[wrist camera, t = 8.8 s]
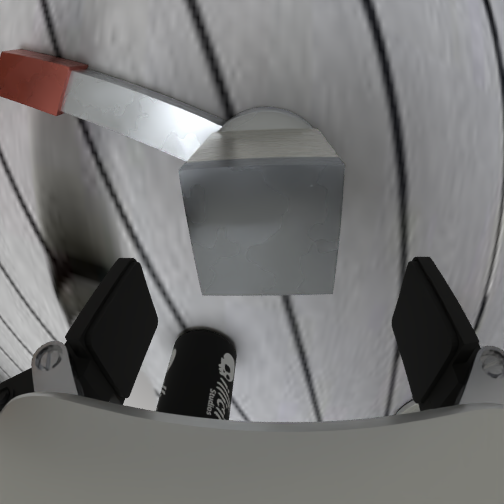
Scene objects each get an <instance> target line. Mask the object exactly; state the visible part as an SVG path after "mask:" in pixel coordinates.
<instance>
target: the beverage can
mask: <svg viewBox="0 0 504 504" xmlns="http://www.w3.org/2000/svg"><path fill="white" fill-rule="evenodd" d="M235 364H236V351H235V349H234V347H233V346H232V345H231V344H230V343H229V341H228V340H227V339H225V338H224V337H223V336H221V335H219V334H217V333H214V332H211V331H206V330H196V331H191V332H188V333H186V334H184V335H182V336H180V337H179V338H178V339H177V340H176V342H175V345H174V348H173V352H172V355H171V359H170V362H169V365H168V369H167V372H166V376H165V379H164V383H163V387H162V390H161V394H160V397H159V401H158V405H157V408H156V412H162V413H169V414H176V415H183V416H191V417H200V418H209V419H220V420H229V414H230V406H231V398H232V389H233V381H234V373H235Z"/></svg>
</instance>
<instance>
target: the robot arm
mask: <svg viewBox="0 0 504 504" xmlns="http://www.w3.org/2000/svg"><path fill="white" fill-rule="evenodd" d="M157 325H158V317H157V314H156V311H155V308H154V305H153V302H152V299H151V296H150V293H149V290H148V287H147V284H146V280H145V277H144V274H143V271H142V267H141V264H140V263H139V262H137V261H136V260H135V259H134V258H119V259H118V260H117V261H116V262H115V264H114V265H113V266H112V268H111V269H110V271H109V272H108V273H107V275H106V276H105V278H104V279H103V280H102V282H101V283H100V285H99V286H98V287H97V289H96V290H95V292H94V293H93V295H92V296H91V298H90V299H89V300H88V302H87V303H86V305H85V306H84V308H83V309H82V311H81V312H80V314H79V315H78V317H77V319H76V320H75V322H74V323H73V325H72V326H71V328H70V329H69V331H68V333H67V334H66V336H65V338H66V340H67V341H66V343H65V345H64V344H63V343H62V342H59V341H51V342H48V343H46V344H44V345H42V346H41V347H40V348H39V349H37V351H36V352H35V353H34V355H33V358H32V363H31V366H32V368H30V369H28V370H26V371H24V372H22V373H20V374H18V375H16V376H14V377H12V378H10V379H8V380H6V381H4V382H2V383H0V504H504V351H503V350H501V349H499V348H497V347H494V346H485V347H482V348H480V346H479V344H478V343H479V340H478V338H477V336H476V334H475V332H474V330H473V328H472V326H471V324H470V322H469V321H468V319H467V317H466V315H465V313H464V311H463V310H462V308H461V306H460V304H459V303H458V301H457V299H456V298H455V296H454V294H453V292H452V291H451V289H450V287H449V286H448V284H447V283H446V281H445V279H444V278H443V276H442V274H441V273H440V271H439V270H438V268H437V267H436V265H435V264H434V262H433V261H432V259H431V258H430V257H414V258H413V260H412V261H410V262H409V263H408V265H407V269H406V273H405V277H404V281H403V284H402V288H401V291H400V295H399V298H398V301H397V305H396V308H395V311H394V314H393V317H392V328H393V331H394V335H395V338H396V341H397V344H398V347H399V350H400V354H401V357H402V360H403V364H404V367H405V370H406V374H407V377H408V381H409V385H410V388H411V392H412V396H413V400H412V401H411V402H409V403H407V404H406V405H405V406H403V407H402V408H401V409H400V410H399V411H398V412H397V413H396V415H392V416H384V417H376V418H367V419H356V420H343V421H326V422H250V421H233V420H220V419H209V418H200V417H191V416H183V415H176V414H169V413H162V412H156V411H150V410H145V409H140V408H134V407H129V406H124V405H123V403H124V400H125V398H128V397H129V396H130V393H131V390H132V388H133V386H134V383H135V380H136V377H137V375H138V373H139V370H140V367H141V365H142V362H143V360H144V357H145V355H146V352H147V350H148V348H149V345H150V343H151V340H152V338H153V335H154V333H155V331H156V328H157Z"/></svg>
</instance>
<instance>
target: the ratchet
mask: <svg viewBox="0 0 504 504" xmlns="http://www.w3.org/2000/svg"><path fill="white" fill-rule="evenodd" d="M87 67H88V65H86V64H83V63H79V62H75V61H72V60H68V59H64V58H60V57H56V56H51V55H47V54H42V53H38V52H33V51H28V50H23V49H18V50H10V51H3V52H2V53H1V56H0V96H1V97H4V98H7V99H10V100H13V101H16V102H19V103H21V104H24V105H27V106H30V107H33V108H36V109H38V110H41V111H44V112H47V113H49V114H52V115H55V116H58V115H60V114H63V113H68V114H70V115H73V116H76V117H78V118H81V119H84V120H86V121H89V122H92V123H94V124H97V125H99V126H102V127H104V128H107V129H110V130H112V131H115V132H117V133H120V134H122V135H125V136H127V137H129V138H132V139H134V140H137V141H139V142H142V143H144V144H146V145H149V146H151V147H153V148H156V149H158V150H160V151H163V152H165V153H167V154H170V155H172V156H174V157H177V158H179V159H181V160H183V161H187V160H188V159H189V158H190V157H191V156H192V155H193V154H194V152H195V151H196V150H197V149H198V148H199V147H200V146H201V145H202V143H203V142H204V141H205V140H206V139H207V138H208V137H209V136H210V135H211V134H212V133H213V132H225V131H239V130H259V129H314V128H313V127H312V126H311V125H310V124H309V123H308V122H307V121H305V120H304V119H303V118H302V117H300V116H298V115H297V114H295V113H293V112H290V111H288V110H285V109H281V108H276V107H257V108H252V109H248V110H246V111H243V112H240V113H239V114H237V115H235V116H233V117H232V118H231V119H229V120H228V121H225V120H223V119H221V118H219V117H216V116H214V115H212V114H209V113H207V112H205V111H203V110H200V109H198V108H195V107H193V106H191V105H188V104H186V103H183V102H181V101H178V100H176V99H173V98H171V97H168V96H166V95H163V94H160V93H158V92H155V91H152V90H150V89H147V88H144V87H142V86H139V85H136V84H133V83H130V82H127V81H124V80H121V79H118V78H115V77H112V76H109V75H106V74H103V73H99V72H96V71H93V70H89V69H87Z"/></svg>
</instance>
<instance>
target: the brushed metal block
mask: <svg viewBox="0 0 504 504" xmlns="http://www.w3.org/2000/svg"><path fill="white" fill-rule="evenodd" d="M344 168H345V165H344V163H343V162H342V161H341V159H340V158H339V156H338V155H337V154H336V152H335V151H334V150H333V148H332V147H331V145H330V144H329V143H328V141H327V140H326V139H325V137H324V136H323V135H322V134H321V132H320V131H319V130H318V129H259V130H239V131H225V132H213V133H212V134H211V135H210V136H209V137H208V138H207V139H206V140H205V141H204V142H203V143H202V145H201V146H200V147H199V148H198V149H197V150H196V151H195V152H194V154H193V155H192V156H191V157H190V158H189V159H188V160H187V161H186V163H185V164H184V165H183V166H182V167H181V168H180V170H179V177H180V183H181V189H182V195H183V201H184V206H185V212H186V217H187V223H188V228H189V233H190V239H191V244H192V249H193V254H194V259H195V264H196V269H197V273H198V278H199V283H200V287H201V292H202V295H222V296H247V295H312V294H333V288H334V280H335V272H336V263H337V255H338V245H339V235H340V225H341V213H342V200H343V186H344Z"/></svg>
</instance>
